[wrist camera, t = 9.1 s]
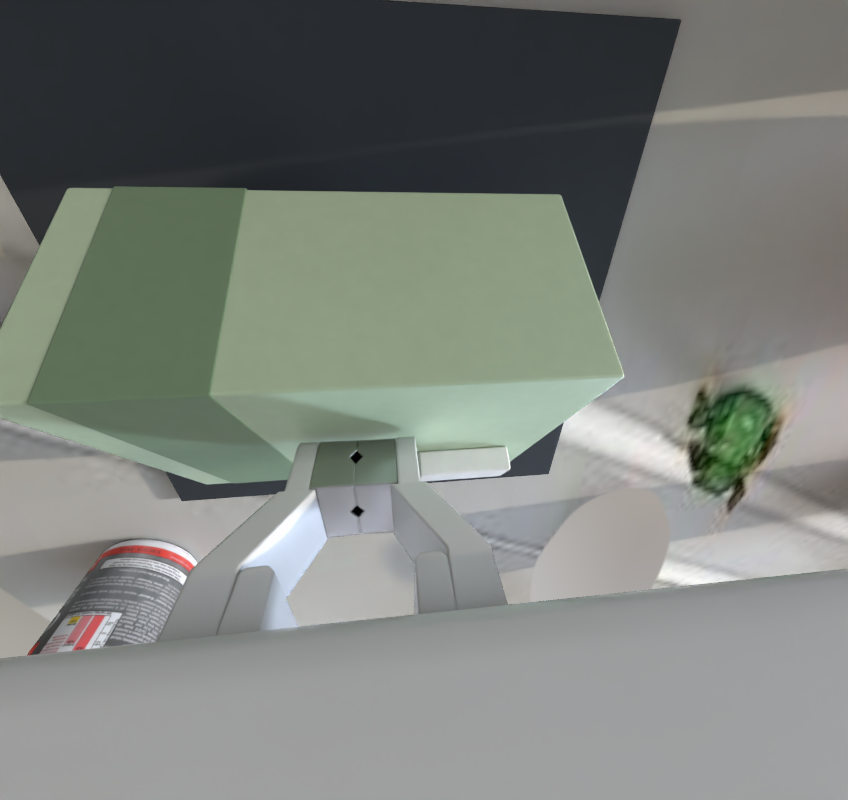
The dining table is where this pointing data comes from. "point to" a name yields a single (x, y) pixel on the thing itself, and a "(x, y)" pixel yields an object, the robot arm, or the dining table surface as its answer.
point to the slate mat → (331, 110)
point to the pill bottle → (120, 598)
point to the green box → (304, 327)
